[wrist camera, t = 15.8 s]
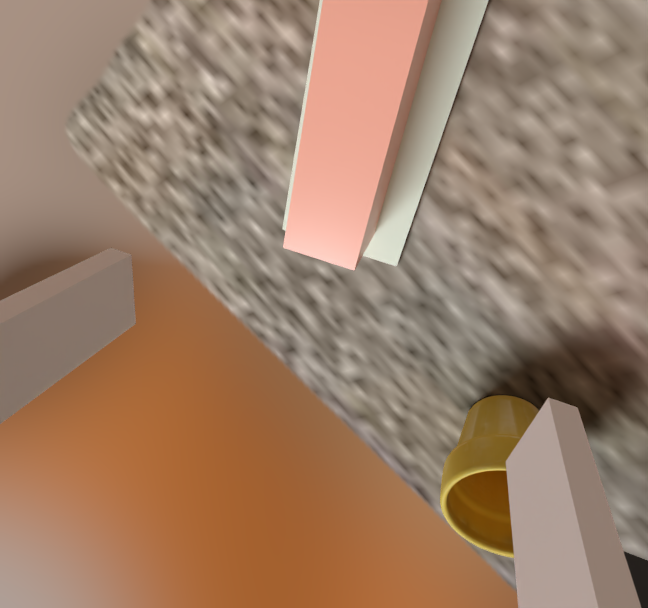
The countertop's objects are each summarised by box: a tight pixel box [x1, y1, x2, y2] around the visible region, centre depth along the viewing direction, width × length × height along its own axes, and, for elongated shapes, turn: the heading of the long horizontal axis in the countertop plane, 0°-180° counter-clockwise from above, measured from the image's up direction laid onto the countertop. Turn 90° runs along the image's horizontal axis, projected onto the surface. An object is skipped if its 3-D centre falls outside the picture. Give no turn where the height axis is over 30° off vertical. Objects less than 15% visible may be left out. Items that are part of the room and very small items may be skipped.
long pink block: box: [283, 0, 442, 270], centre depth 25 cm, size 20×5×7 cm, turn 168°
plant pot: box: [440, 395, 539, 558], centre depth 34 cm, size 10×10×10 cm
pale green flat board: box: [283, 0, 489, 267], centre depth 28 cm, size 24×10×1 cm, turn 168°
